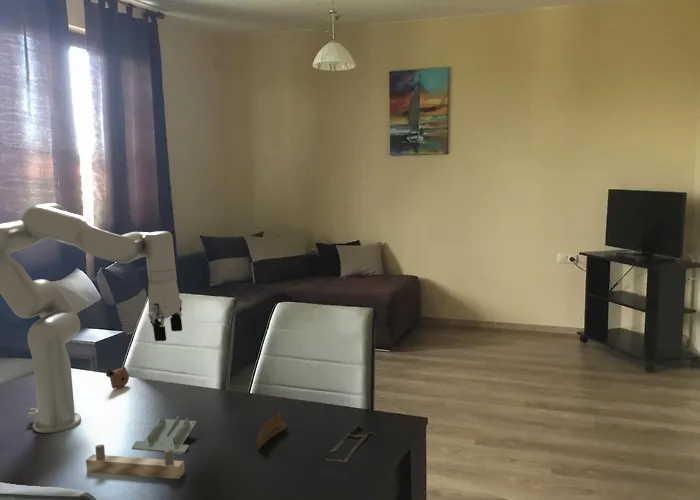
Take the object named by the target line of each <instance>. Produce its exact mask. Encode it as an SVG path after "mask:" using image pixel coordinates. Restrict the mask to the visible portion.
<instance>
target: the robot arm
mask: <svg viewBox="0 0 700 500" xmlns="http://www.w3.org/2000/svg"><path fill="white" fill-rule="evenodd" d="M46 239H49V240H51V241H56V242H59V243H63V244H65V245H70V246H73V247H77V249H79V250H81V251H83V252H85V253H86V254H88V255H90V256H93V257H96V258H99V259H102V260H106V261H109V262H113V263H117V264H128V263H131V262H133V261H135V260H139V259H142V258H144V257H145V259H146V269H147V278H148V291H147V292H148V293H147V298H148V301H147V302H148V312H149V313H148V318H149V321H150V324H151V327H152V329H153V336H154V341H155V342H166V340H167V333H166V326H165V325H164V324H165V320H166V319H168V318H169V320H170V328H171V332H182V331H183V322H182V315H183V313H182V310H183V309H182V302H183V300H182V299H181V298H180V293H179V292H180V291H179V288H178V282H177V280H178V278H177V277H178V276H177V270H176V269H177V267H176V261H175V250H174V240H173V234H172V233H171V232H170V231H167V230H161V231H160V230H157V231H151V232H146V231H145V232H143V231H132V232H128V233H127V232H126V233H124V234H121V235H120V234H116V233H113V232H110V231H107V230H103V229H100V228H98V227H96V226H94V225H93V224H92V223H91V221H90V219H89V218H88V217H86V216H83V215H80V214H77V213H72V212H69V211H68V210H67V209H66V208H65V207H64V206H62V205H61V204H58V203H55V202H49V203H48V202H47V203H46V202H45V203H42V204H41V203H40V204H35V205H31V206H30V207H29V208H27V209H26V210H25V212H24V213H23V215H22V217H21V218H18V219H16V220H13V221H8V222H2V223H0V295H1V296H2V298H3V299H4V301H5V302H6V304H7V305H8V306H9V309H11V311H12V312H13V314H15V316H17V317H18V318H21V319H31V318H35V317H36V316H39V318H40V319H38V320H36V321H35V322H33V323H32V325H31V326H30V327H29V329H28V333H27V344H28V347H29V351H30V355H31V359H32V365H33V367H32V368H33V375H34V376H33V377H34V385H35V397H36V407H30V408H29V409H28V413H27V414H26V417H27V418H34V421H33V422H32V429H33V431H34V432H37V433H43V434H46V433H47V434H50V433H59V432H63V431H67V430H70V429H72V428H74V427H76V426H78V425H79V424H80V423H81V422H82V417H81V415H80V413H78V412H75V401H74V400H75V399H74V390H73V375H72V368H71V367H72V366H71V359H70V356H69V352H68V350H67V346H66V344H67V343H69V342H70V341H72V340H73V339H75V338H76V337H77V335H78V334H79V333H80V330H81V320H80V318H79V315H78V314H77V313H76V310H74V308H73V306H72V305H71V304H70V302H69V301H68V299H67V298H66V296H65V295H64V293H63V292H62V291H61V290H60V288H59V287H58V286H57V285H56V284H55V283H53V282H52V281H50V280H47V279H41V278H40V279H35V280H33V279H32V278H31V277H30V275H29V274H28V273H27V271H26V269H25V268H24V267H23V266H22V265H21V264H20V263H19V262H18V261H17V260H16V259H14V258H13V256H11V253H15V252H19V251H24V250H26V249H28V248H31V247H33V246H35V245H37V244H39V243H41V242H42V241H45V240H46Z"/></svg>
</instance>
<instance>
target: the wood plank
mask: <svg viewBox="0 0 700 500" xmlns="http://www.w3.org/2000/svg"><path fill="white" fill-rule="evenodd" d="M286 428H288V425H287V423H286V422H284V421H283V418H282V414H281V410H279V411H278V412H277V413H276V414H274V415H272V416H271V417H270V418H269V419H268V420H267V421H266V422H265V423H264V424H263V425H262V426H261V427H260V430H259V431H258V433H257V437H256V438H257V440H256V445H257V447H256V449H257V451H259V450H260V449H261V448H262V447H263V445H265V444H266V443H267V442H268V441H269V440H270V439H271V438H273V437H275V436H276V435H277V434H279V433H280V432H282V431H284V430H286Z"/></svg>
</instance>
